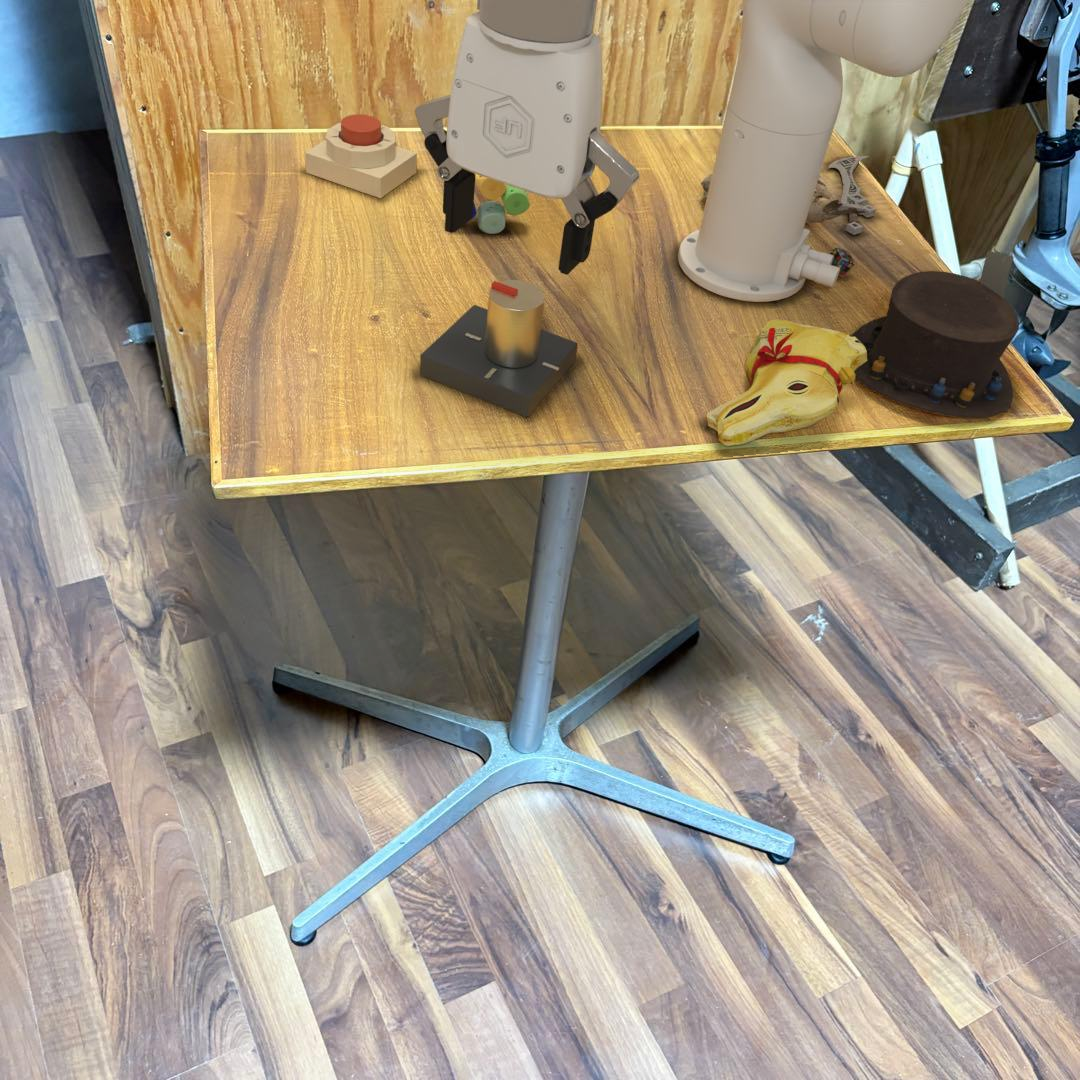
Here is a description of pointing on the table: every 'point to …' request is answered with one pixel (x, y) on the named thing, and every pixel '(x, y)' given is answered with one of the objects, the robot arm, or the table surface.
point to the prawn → (826, 213)
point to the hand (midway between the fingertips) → (514, 245)
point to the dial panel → (495, 365)
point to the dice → (498, 204)
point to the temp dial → (514, 323)
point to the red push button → (360, 130)
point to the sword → (852, 193)
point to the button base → (362, 162)
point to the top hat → (944, 343)
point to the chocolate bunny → (789, 381)
